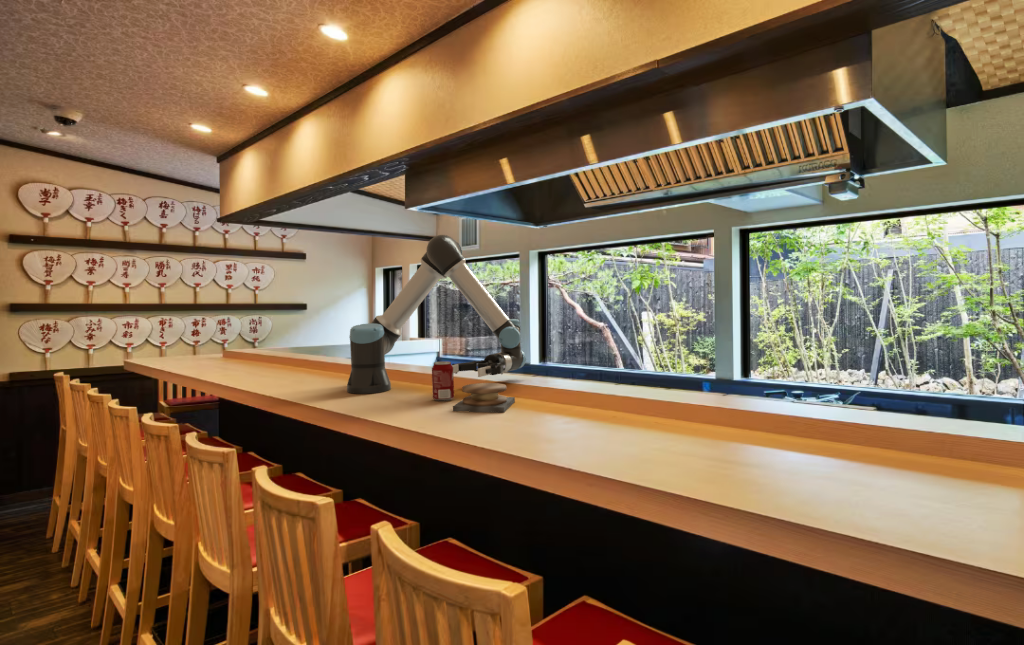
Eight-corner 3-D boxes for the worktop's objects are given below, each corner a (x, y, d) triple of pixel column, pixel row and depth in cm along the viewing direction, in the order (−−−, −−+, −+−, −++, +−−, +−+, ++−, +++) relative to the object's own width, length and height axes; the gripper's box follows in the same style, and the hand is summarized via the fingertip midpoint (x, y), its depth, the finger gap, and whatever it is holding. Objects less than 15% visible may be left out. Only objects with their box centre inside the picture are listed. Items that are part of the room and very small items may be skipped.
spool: (453, 411, 161) (452, 390, 161) (467, 401, 176) (467, 382, 175) (504, 412, 158) (503, 391, 158) (514, 402, 173) (514, 382, 172)
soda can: (452, 401, 175) (451, 363, 175) (431, 402, 176) (429, 364, 175) (455, 397, 182) (454, 360, 182) (434, 398, 182) (433, 361, 182)
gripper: (527, 375, 199) (493, 385, 181) (469, 372, 212) (433, 380, 194) (526, 354, 198) (492, 362, 180) (469, 352, 211) (432, 359, 193)
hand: (462, 371), depth 187 cm, fingers open, 13 cm apart
